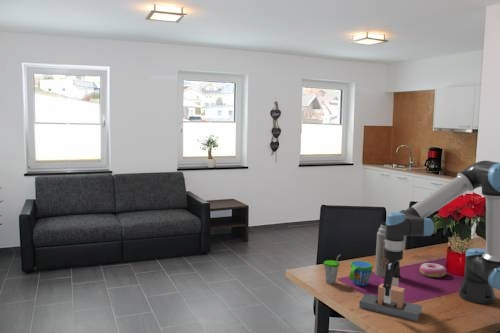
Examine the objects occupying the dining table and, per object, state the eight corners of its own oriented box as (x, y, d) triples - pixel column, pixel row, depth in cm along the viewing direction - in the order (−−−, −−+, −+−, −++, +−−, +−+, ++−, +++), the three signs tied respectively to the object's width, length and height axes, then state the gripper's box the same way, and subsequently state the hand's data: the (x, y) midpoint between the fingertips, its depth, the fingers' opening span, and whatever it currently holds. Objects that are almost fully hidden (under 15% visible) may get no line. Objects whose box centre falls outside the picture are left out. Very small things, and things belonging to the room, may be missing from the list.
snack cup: (363, 277, 232) (364, 258, 231) (379, 284, 223) (380, 264, 222) (341, 283, 223) (342, 263, 222) (357, 290, 215) (358, 269, 214)
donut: (444, 272, 244) (445, 263, 243) (447, 280, 231) (448, 271, 231) (418, 269, 248) (418, 260, 247) (420, 277, 235) (420, 268, 234)
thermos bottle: (391, 277, 233) (394, 224, 230) (375, 276, 235) (378, 223, 231) (390, 272, 240) (393, 221, 237) (374, 271, 242) (377, 220, 239)
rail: (421, 312, 191) (422, 305, 191) (417, 321, 183) (417, 314, 182) (365, 299, 203) (366, 293, 203) (359, 307, 195) (359, 301, 194)
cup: (319, 282, 224) (320, 253, 222) (328, 278, 229) (330, 250, 228) (332, 286, 218) (333, 256, 217) (341, 282, 224) (343, 253, 222)
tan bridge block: (403, 310, 193) (404, 288, 192) (400, 315, 188) (402, 292, 187) (379, 305, 198) (381, 283, 197) (377, 309, 193) (378, 287, 192)
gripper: (391, 241, 203) (389, 286, 205) (377, 255, 181) (374, 305, 184) (408, 243, 199) (406, 289, 201) (396, 258, 178) (393, 309, 180)
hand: (391, 297), depth 192 cm, fingers open, 13 cm apart
